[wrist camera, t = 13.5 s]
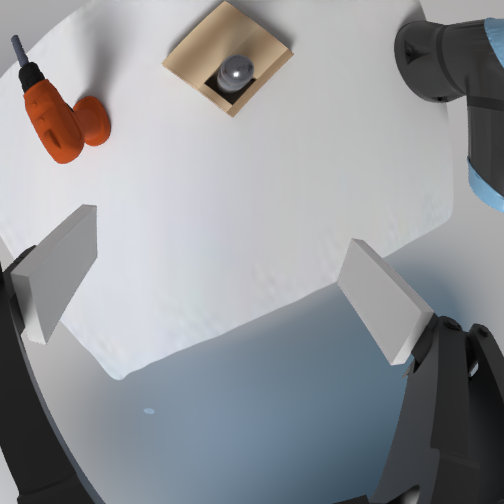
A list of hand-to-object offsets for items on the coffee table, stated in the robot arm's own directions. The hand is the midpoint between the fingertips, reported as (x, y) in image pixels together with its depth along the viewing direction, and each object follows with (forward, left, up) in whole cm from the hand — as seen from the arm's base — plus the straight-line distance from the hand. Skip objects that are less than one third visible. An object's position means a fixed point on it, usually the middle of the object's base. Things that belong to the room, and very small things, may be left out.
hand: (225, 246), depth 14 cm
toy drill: (+22, +4, -29) cm, 37 cm away
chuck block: (+8, -12, -29) cm, 32 cm away
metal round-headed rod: (+6, -9, -28) cm, 30 cm away
